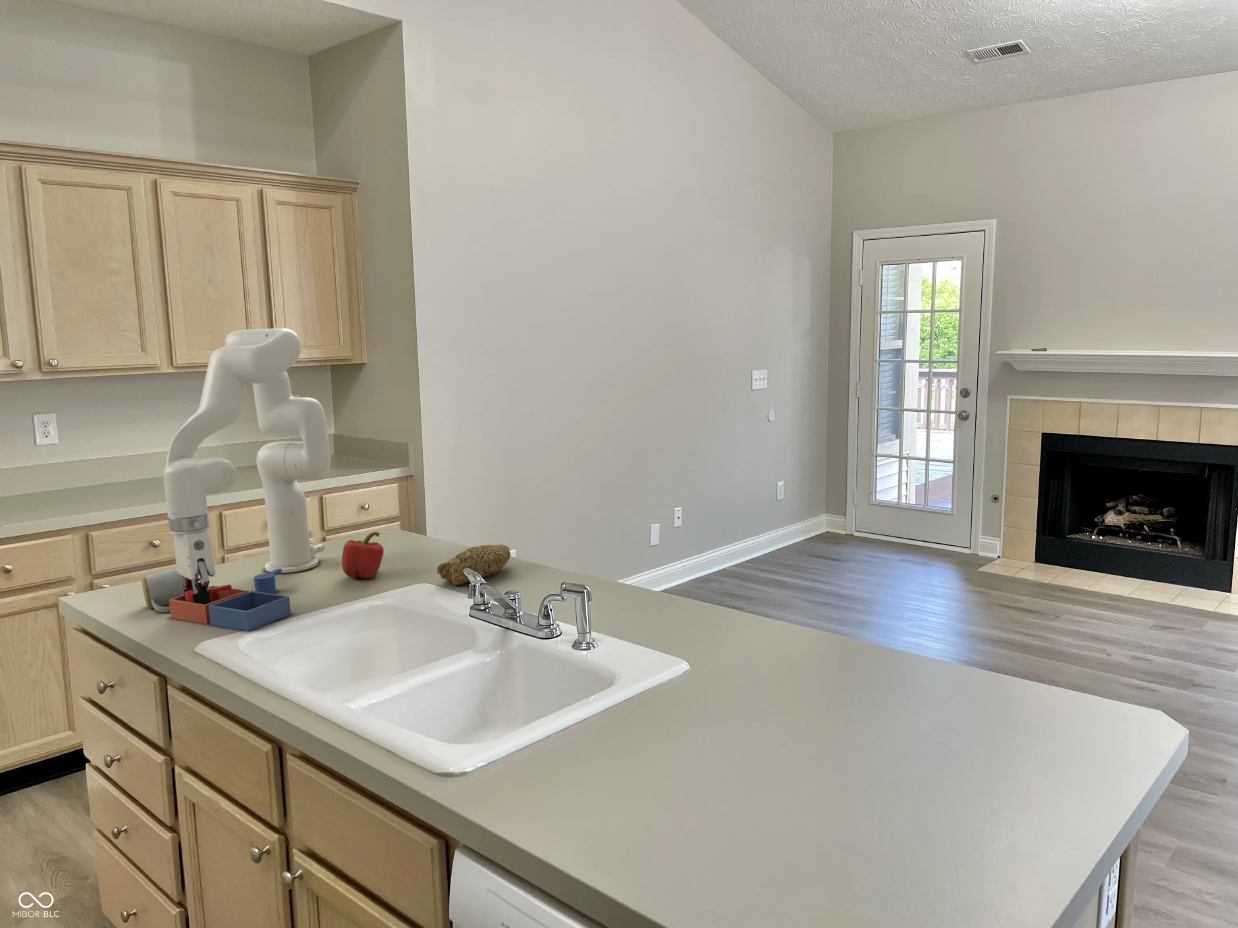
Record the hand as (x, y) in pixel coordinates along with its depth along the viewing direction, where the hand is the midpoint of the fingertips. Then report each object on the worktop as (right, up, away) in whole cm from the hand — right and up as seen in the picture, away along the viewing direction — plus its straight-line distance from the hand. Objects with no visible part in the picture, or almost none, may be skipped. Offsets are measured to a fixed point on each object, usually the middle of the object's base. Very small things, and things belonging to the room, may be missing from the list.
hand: (198, 607), depth 191 cm
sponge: (+55, +4, +24) cm, 60 cm away
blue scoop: (+9, +1, +18) cm, 20 cm away
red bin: (+2, -1, +2) cm, 3 cm away
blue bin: (+13, -2, -3) cm, 13 cm away
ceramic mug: (-10, -1, +8) cm, 13 cm away
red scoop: (+2, 0, +2) cm, 2 cm away
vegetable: (+28, +3, +27) cm, 38 cm away
